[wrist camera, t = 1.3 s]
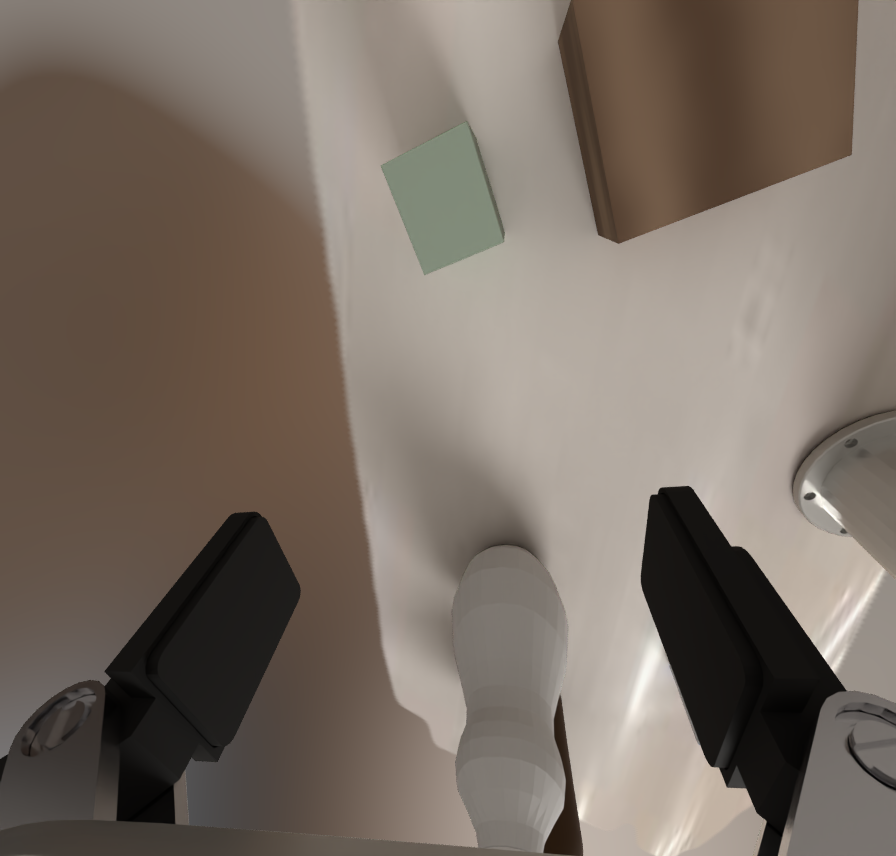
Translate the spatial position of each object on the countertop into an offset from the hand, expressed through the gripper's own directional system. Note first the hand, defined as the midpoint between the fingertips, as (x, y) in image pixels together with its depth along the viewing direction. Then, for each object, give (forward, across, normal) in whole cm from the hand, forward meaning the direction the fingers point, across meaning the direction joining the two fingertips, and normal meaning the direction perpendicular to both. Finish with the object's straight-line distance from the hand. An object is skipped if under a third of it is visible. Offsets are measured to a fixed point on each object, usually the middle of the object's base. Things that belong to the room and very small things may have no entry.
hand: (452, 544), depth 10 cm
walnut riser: (+25, -13, -10) cm, 30 cm away
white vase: (+25, 0, +31) cm, 40 cm away
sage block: (+25, +1, -7) cm, 26 cm away
